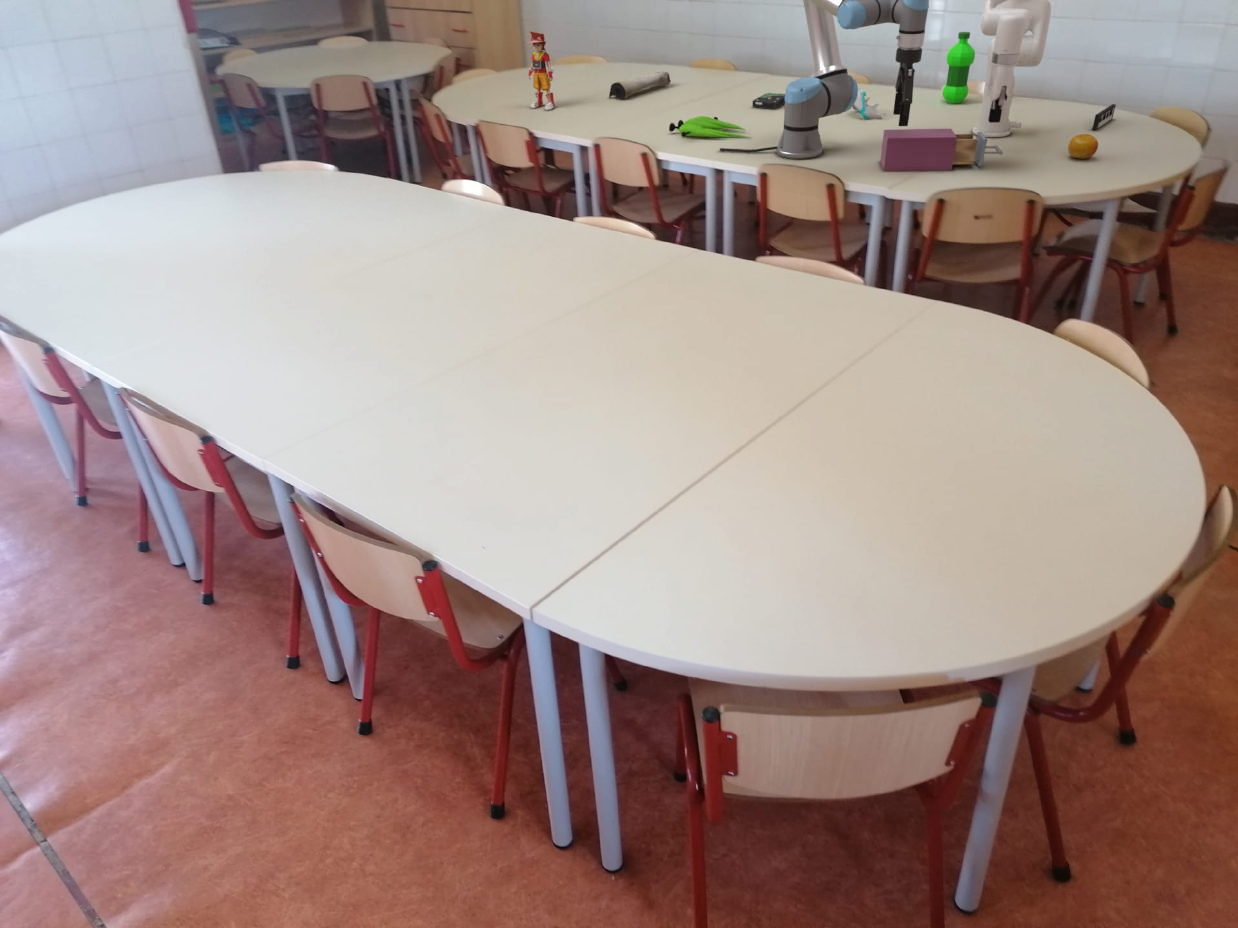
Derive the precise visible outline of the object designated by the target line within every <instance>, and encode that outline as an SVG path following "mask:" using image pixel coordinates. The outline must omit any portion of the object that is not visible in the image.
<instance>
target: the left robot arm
mask: <svg viewBox="0 0 1238 928" xmlns="http://www.w3.org/2000/svg"><path fill="white" fill-rule="evenodd" d="M802 1H803V8H804V12H805V17H806V24H807V29H808V36H809V41H810V48H811V53H812V57H813V63H814V69H815V73H814V74H813V76H812V77H805V78H803V77H802V78H798V79H795V80H791V82H789V83H788V84H787V86H786V87H785V93H784V94H785V104H784V111H783V113H784V115H783V129H782V133H781V136H780V139H779V141H778V144H777V146H769V147H762V148H755V149H743V148H723V147H720V148H719V152H735V153H759V152H765V151H773V150H774V151H775V150H776V154H777V155H778V156H779V157H782V158H785V159H790V160H791V159H792V160H806V159H813V158H817V157H819V156H821V155H822V154H823V144H822V140H821V134H820V131H819V123H820V119H823V118H826V117H830V116H834V115H836V116H837V115H841V114H843V113H846V112H848V111H850V110H851V109H853V105H854V103H855V101H856V99H857V95H858V89H859V86H858V82H857V80H856V78H854V77H853V76H852V75H850V74H849V73H848V68H847V67H846V66H844V65H843V64H842V60H841V55H840V54H841V53H840V48H839V42H838V35H837V31H836V24H835V19H834V17H836V19H837V23H838V24H839V27H841V28H842V29H843V30H857V29H860V28H865V27H870V26H876V25H882V24H886V23H887V24H895V25H899V26H898V29H899V30H898V35H897V36H895V39H896V40H897V43H896V45H897V48H896V51H895V62H897V63H899V69H898V73H897V77H896V82H895V86H894V87H895V97H894V105H893V113H892V114H893V115H894V116H896V115H897V116H899V118H898V127H908V126H909V119H910V114H911V113H910V111H911V105H912V104H913V94H914V79H915V72H916V69H915V68H914V66H913V65H914V64H918V63H920V62H921V61H922V56H923V48H922V47H923V46H924V42H925V34H926V23H927V18H928V12H929V8H930V0H802ZM893 115H892V116H893Z"/></svg>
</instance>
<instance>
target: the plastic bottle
mask: <svg viewBox="0 0 1238 928" xmlns="http://www.w3.org/2000/svg"><path fill="white" fill-rule="evenodd" d="M970 36H971V32H970V31H959V32H958V36H957V39H958V42H957V43H956V44H954V45H953V46H952V47H951V48H950V49H949V50H948V52H947V54H946V63H947V64H948V69H947V70H948V71H947V76H946V77H947V78H946V84H945V85H944V87H943V90H942V97H943V99H944V100H945V101H946V102H947V103H948V104H960V103H961V102H963V101H964V100H966V98H967V96H968V95H969V85H968V79H969V73H970V67H971V65H972V64H973V63H974V61H975V57H976V51H975V49H974V47H972V45H971V44H970V43H969V42H968V41H969V39H970V38H971V37H970Z"/></svg>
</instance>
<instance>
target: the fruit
mask: <svg viewBox="0 0 1238 928" xmlns="http://www.w3.org/2000/svg"><path fill="white" fill-rule="evenodd" d="M1098 148H1099V143H1098V139H1097V138H1096V137H1095V136H1093V135H1092V134H1090V133H1089V134H1088V133H1082V134H1077V135H1074V136H1073V137H1072V138H1071V139H1070V141H1069V142H1068V145H1067V152H1068V154H1069V155H1070V156H1071V157H1072V158H1074V159H1080V160H1081V159H1083V160H1084V159H1089V158H1091V157H1092V156H1094V154H1095V153H1096V152H1097V151H1098Z"/></svg>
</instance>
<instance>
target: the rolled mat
mask: <svg viewBox="0 0 1238 928" xmlns="http://www.w3.org/2000/svg"><path fill="white" fill-rule="evenodd" d="M671 83H672V81H671V77H670V74H669V72H668V71H658V72H654V73H649V74H645V75H640V76H637V77H633V78H628V79H623V80H620V81H616V82H613V83H612V84H611V85H610V89H609V95H608V97H609V98H611V97H616V99H620V100H622V101H623V100H626V99H627V98H629V97H630V96H632V95H635V94H636V93H638V92H640V91H643V90H644V89H647V88H650V87H655V86H658V87H659V86H661V87H665V86H669V85H670V84H671Z"/></svg>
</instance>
